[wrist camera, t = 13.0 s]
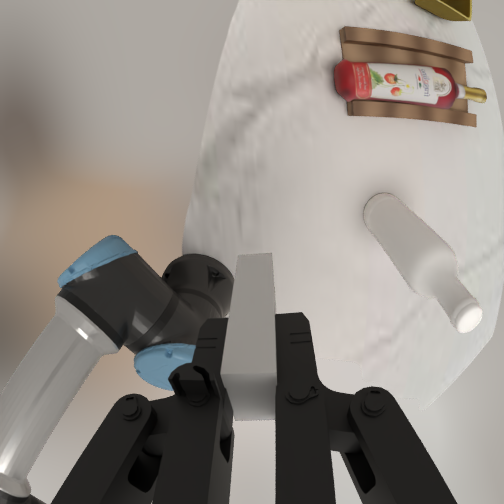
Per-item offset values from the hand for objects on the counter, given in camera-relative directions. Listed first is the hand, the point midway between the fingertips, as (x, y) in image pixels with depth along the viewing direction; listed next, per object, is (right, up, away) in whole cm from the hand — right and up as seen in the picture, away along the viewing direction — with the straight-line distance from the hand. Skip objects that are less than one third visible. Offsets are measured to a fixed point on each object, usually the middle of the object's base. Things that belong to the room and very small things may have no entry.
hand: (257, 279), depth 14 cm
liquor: (+12, +26, +22) cm, 37 cm away
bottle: (+23, +9, +36) cm, 44 cm away
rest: (+27, +31, +24) cm, 47 cm away
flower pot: (+31, +46, +15) cm, 58 cm away
